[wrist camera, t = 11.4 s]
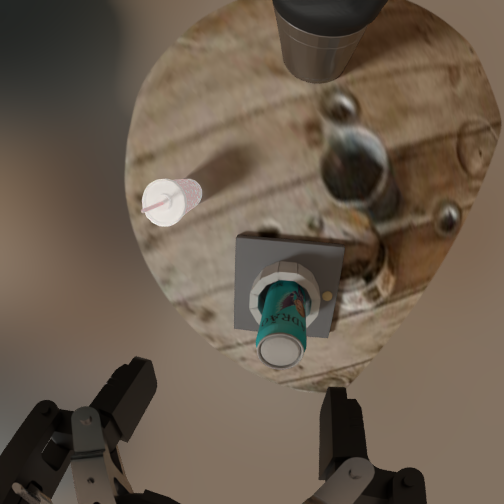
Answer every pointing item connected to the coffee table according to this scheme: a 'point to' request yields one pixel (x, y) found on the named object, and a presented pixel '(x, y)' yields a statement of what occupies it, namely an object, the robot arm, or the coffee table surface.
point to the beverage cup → (170, 200)
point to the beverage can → (282, 326)
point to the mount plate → (286, 278)
